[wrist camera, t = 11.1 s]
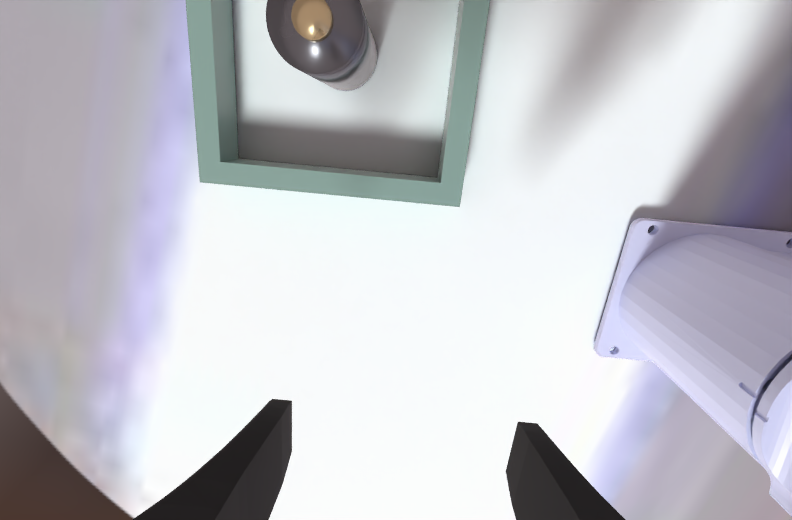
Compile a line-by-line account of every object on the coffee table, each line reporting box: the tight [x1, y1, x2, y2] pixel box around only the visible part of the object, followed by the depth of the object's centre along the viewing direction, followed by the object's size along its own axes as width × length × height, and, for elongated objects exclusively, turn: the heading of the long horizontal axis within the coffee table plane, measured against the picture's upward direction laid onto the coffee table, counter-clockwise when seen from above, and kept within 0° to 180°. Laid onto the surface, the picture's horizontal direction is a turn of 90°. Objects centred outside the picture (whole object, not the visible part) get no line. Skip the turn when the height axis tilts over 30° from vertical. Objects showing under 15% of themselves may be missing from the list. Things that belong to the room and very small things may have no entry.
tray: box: [186, 0, 490, 207], centre depth 17 cm, size 12×12×2 cm
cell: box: [266, 0, 377, 91], centre depth 14 cm, size 3×3×6 cm
